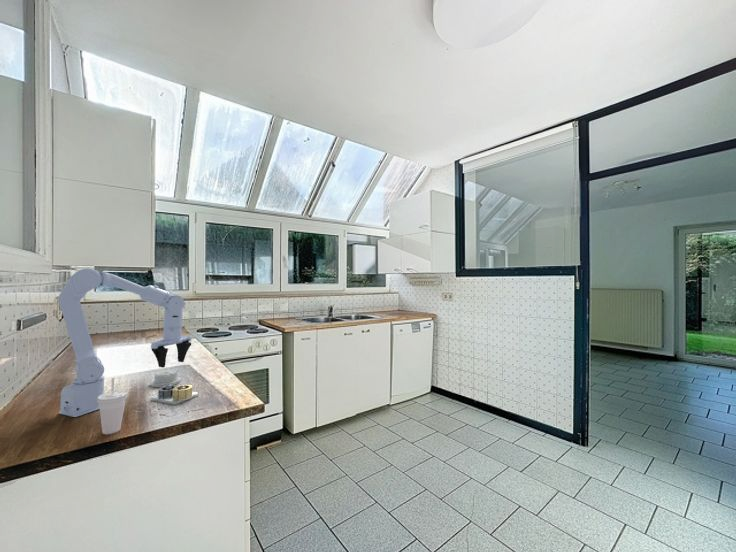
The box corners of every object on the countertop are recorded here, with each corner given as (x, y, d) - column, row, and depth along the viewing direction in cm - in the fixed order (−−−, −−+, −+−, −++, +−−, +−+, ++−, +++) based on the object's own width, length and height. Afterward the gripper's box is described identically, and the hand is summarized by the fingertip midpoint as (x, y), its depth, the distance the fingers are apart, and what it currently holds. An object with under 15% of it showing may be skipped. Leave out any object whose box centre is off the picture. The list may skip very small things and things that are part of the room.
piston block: (175, 405, 99) (175, 392, 99) (149, 400, 103) (150, 388, 103) (198, 395, 108) (198, 384, 108) (174, 391, 111) (174, 380, 112)
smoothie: (123, 423, 86) (125, 373, 87) (129, 430, 82) (131, 378, 83) (93, 431, 81) (95, 379, 82) (98, 439, 77) (100, 384, 78)
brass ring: (181, 400, 101) (181, 391, 101) (169, 398, 103) (169, 389, 103) (195, 394, 106) (196, 386, 106) (183, 392, 108) (184, 383, 108)
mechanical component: (168, 388, 115) (186, 380, 125) (168, 377, 115) (186, 369, 125) (143, 387, 116) (163, 379, 125) (144, 375, 116) (164, 368, 126)
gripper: (162, 331, 104) (160, 370, 103) (197, 325, 117) (196, 360, 117) (147, 329, 106) (145, 368, 106) (183, 324, 120) (182, 358, 119)
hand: (171, 364), depth 111 cm, fingers open, 7 cm apart
